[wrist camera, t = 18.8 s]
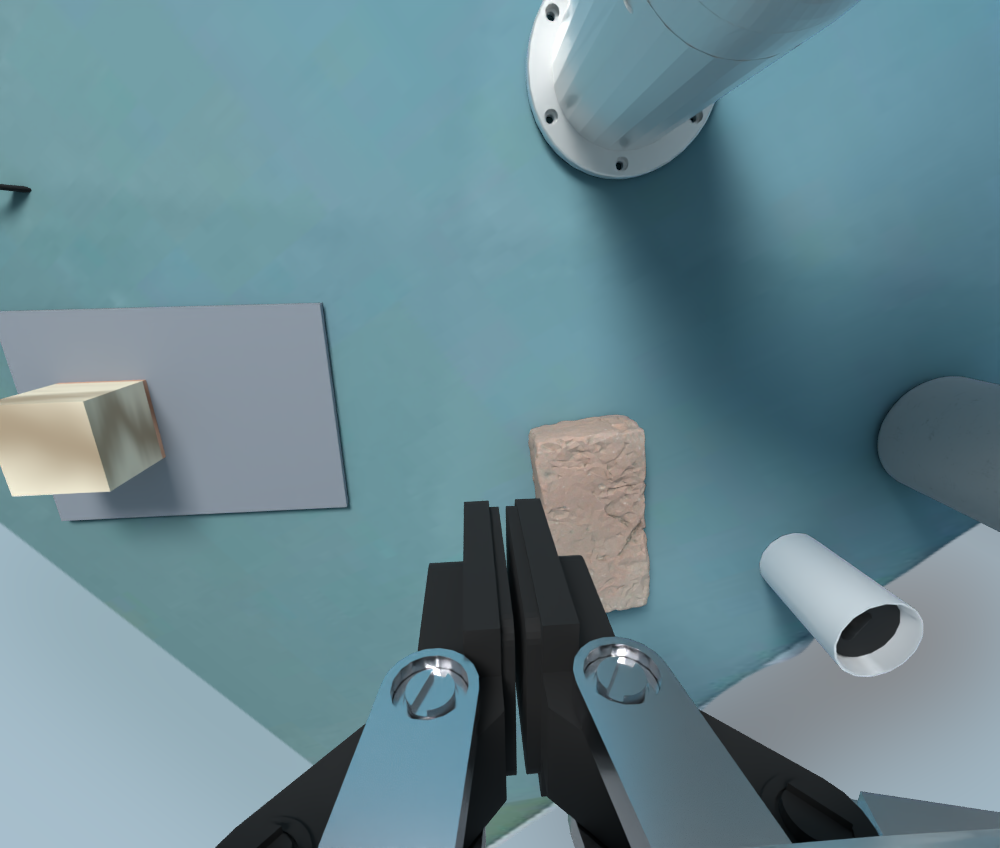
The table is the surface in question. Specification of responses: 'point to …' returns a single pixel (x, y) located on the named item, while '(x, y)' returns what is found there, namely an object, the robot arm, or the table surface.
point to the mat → (200, 402)
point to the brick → (597, 501)
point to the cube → (78, 437)
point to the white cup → (842, 606)
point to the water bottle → (947, 444)
